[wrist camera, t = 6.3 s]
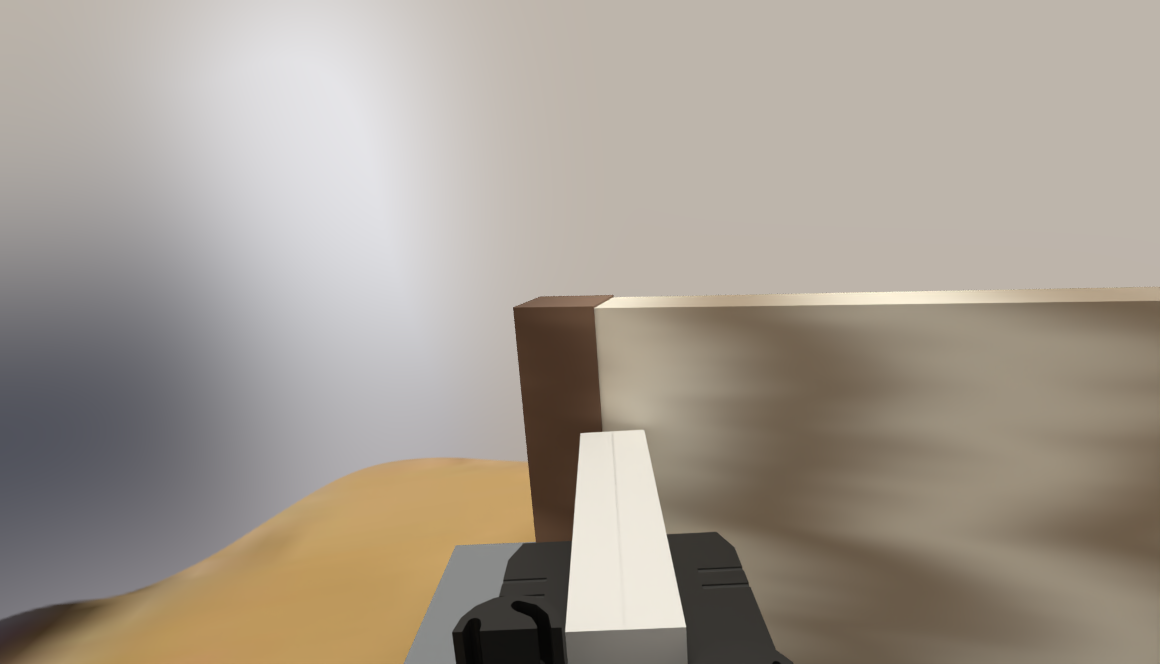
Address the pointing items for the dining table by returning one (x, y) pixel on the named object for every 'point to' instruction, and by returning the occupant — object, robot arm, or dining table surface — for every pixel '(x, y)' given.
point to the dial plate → (459, 598)
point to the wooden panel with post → (883, 458)
